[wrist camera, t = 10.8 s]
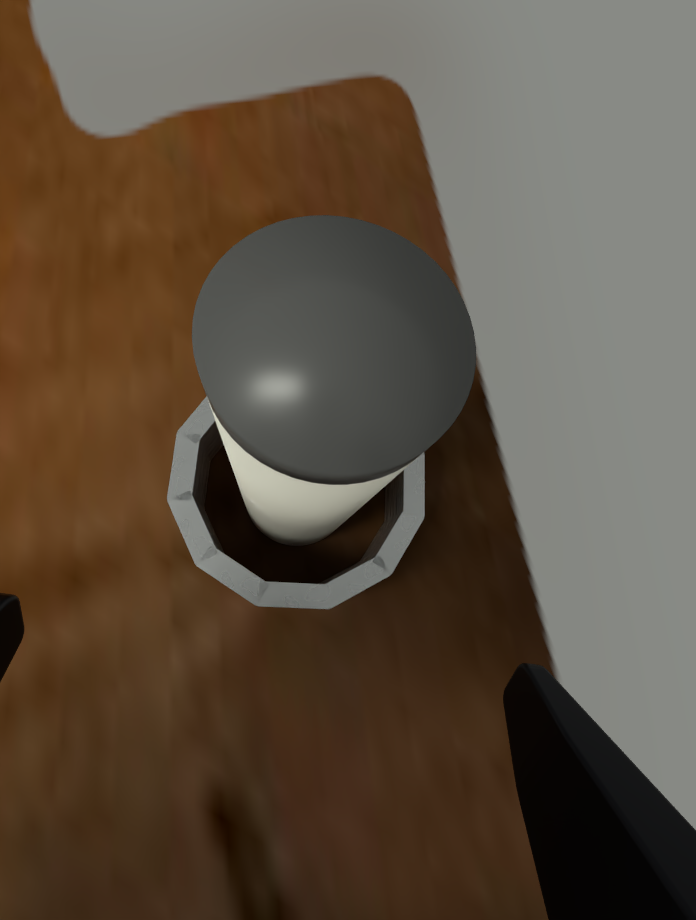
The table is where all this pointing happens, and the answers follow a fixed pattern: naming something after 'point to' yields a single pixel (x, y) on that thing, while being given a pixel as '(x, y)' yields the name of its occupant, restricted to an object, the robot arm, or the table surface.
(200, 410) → the collar
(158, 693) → the table surface
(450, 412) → the peg
